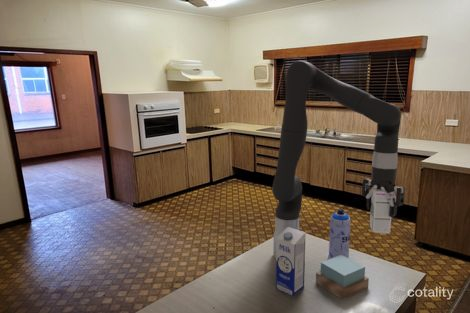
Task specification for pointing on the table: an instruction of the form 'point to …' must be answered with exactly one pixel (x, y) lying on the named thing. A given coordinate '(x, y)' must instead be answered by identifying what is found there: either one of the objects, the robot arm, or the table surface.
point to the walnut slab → (338, 289)
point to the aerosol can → (339, 234)
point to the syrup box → (380, 212)
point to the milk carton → (290, 261)
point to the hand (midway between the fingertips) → (380, 212)
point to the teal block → (342, 270)
